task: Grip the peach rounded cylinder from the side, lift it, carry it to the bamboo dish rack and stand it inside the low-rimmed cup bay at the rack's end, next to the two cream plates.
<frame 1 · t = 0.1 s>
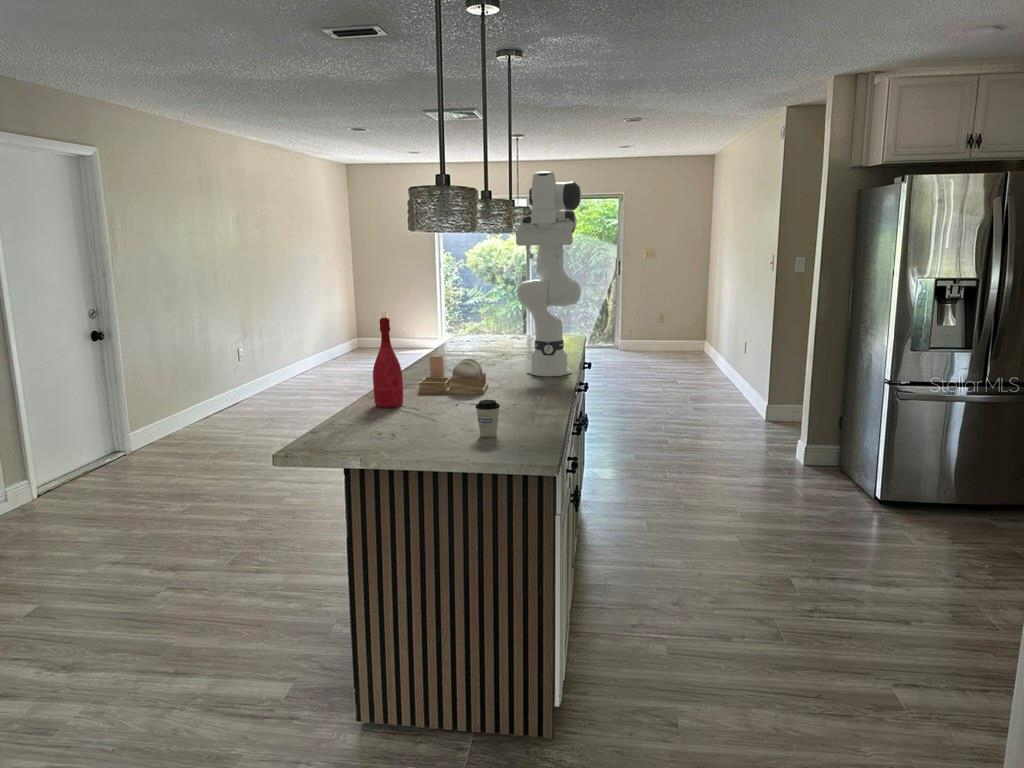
hand: (544, 258, 246), 48 cm above the countertop, tool pointing down, fingers open, 8 cm apart
coffee cup: (488, 436, 195), on the countertop
peach rounded cylinder: (437, 383, 269), on the countertop
rack: (454, 390, 256), on the countertop
wine bottle: (389, 406, 234), on the countertop
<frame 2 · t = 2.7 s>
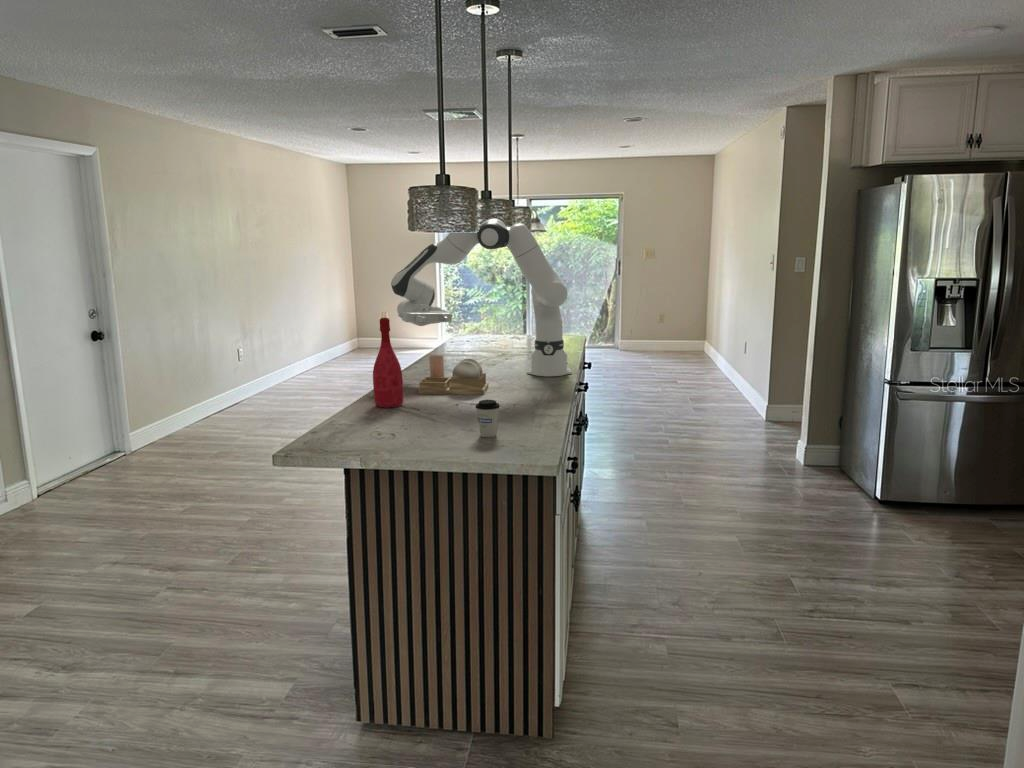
hand: (435, 319, 266), 25 cm above the countertop, tool horizontal, fingers open, 8 cm apart
nothing on the countertop moved.
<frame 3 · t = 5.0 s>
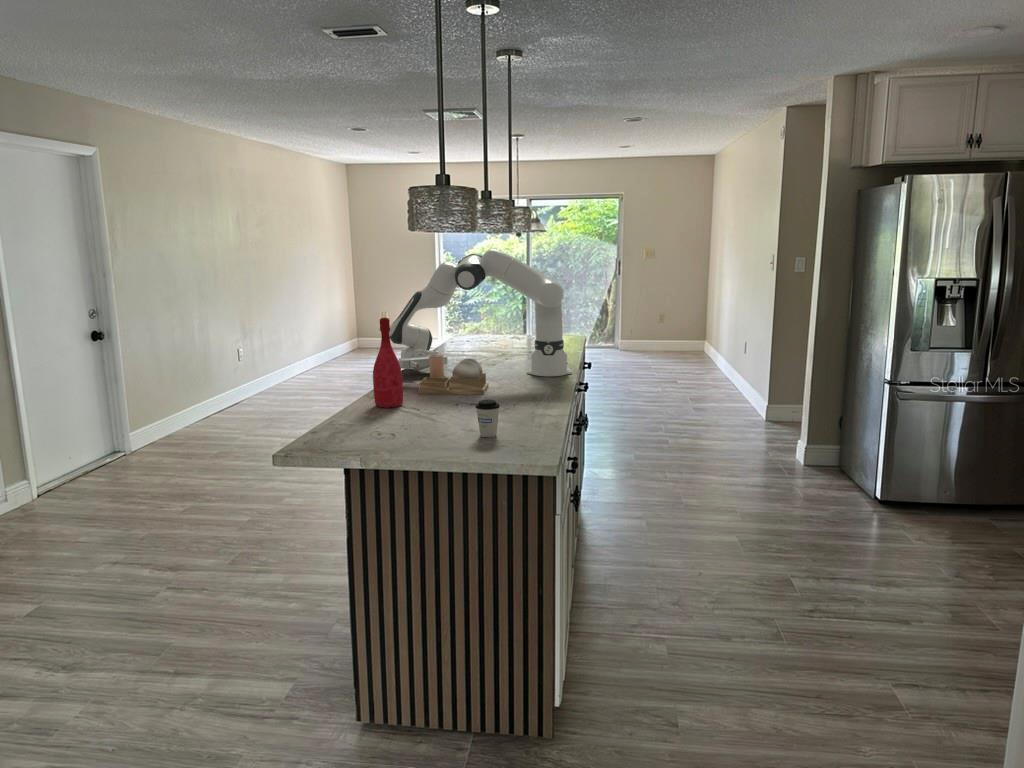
hand: (428, 364, 278), 6 cm above the countertop, tool horizontal, fingers open, 8 cm apart
nothing on the countertop moved.
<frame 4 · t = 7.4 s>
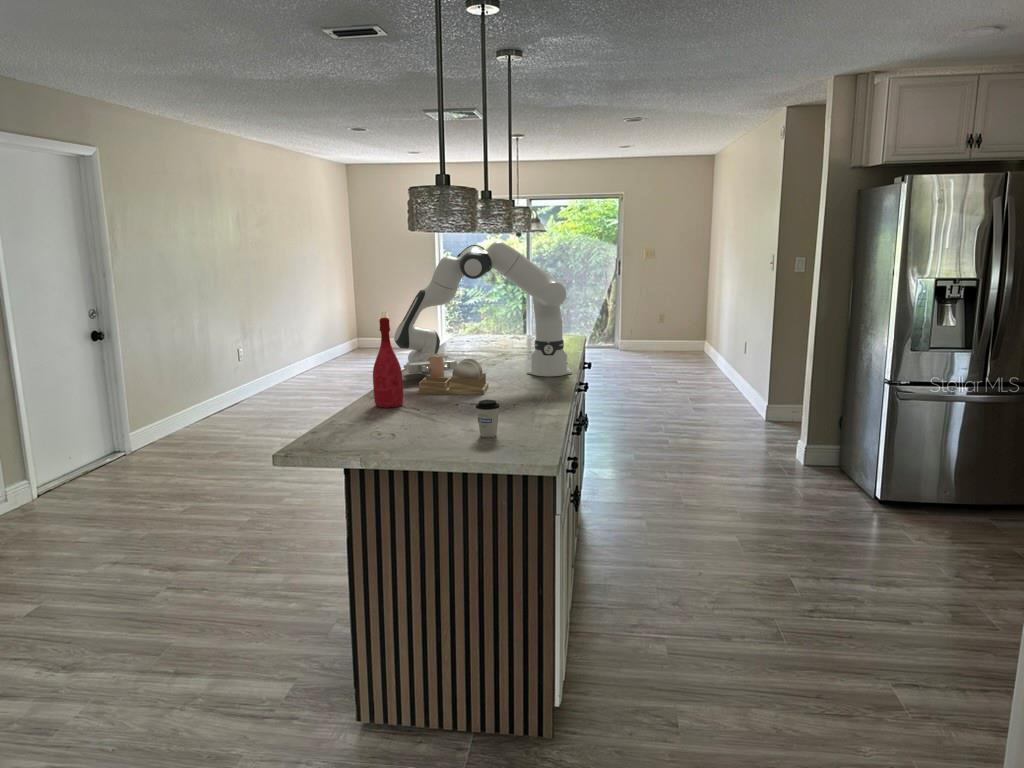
hand: (437, 368, 267), 6 cm above the countertop, tool horizontal, fingers closed on peach rounded cylinder, 5 cm apart
peach rounded cylinder: (437, 383, 269), on the countertop, touching gripper
everything else where it was.
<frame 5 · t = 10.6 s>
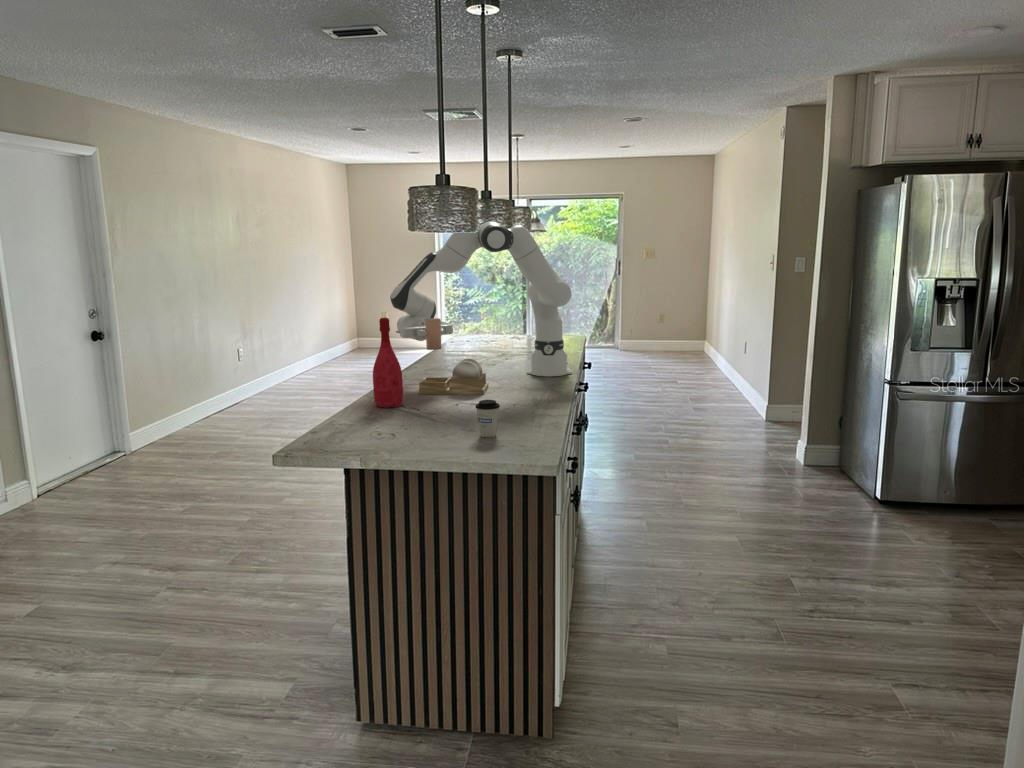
hand: (434, 332, 252), 22 cm above the countertop, tool horizontal, fingers closed on peach rounded cylinder, 5 cm apart
peach rounded cylinder: (434, 348, 254), point 16 cm above the countertop, touching gripper
everything else where it was.
when the fingers open (9 cm above the countertop, at t = 13.3 s): peach rounded cylinder drops 2 cm, resting on rack.
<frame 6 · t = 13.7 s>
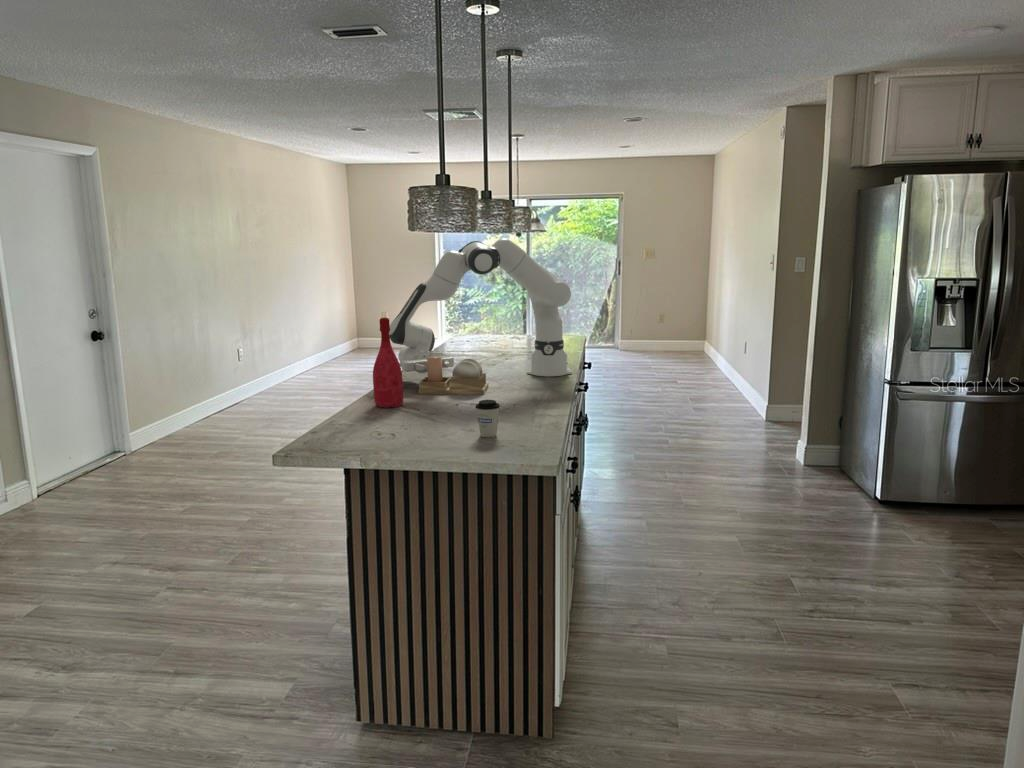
hand: (435, 366, 254), 9 cm above the countertop, tool horizontal, fingers open, 8 cm apart
peach rounded cylinder: (435, 386, 256), point 2 cm above the countertop, touching rack
everything else where it was.
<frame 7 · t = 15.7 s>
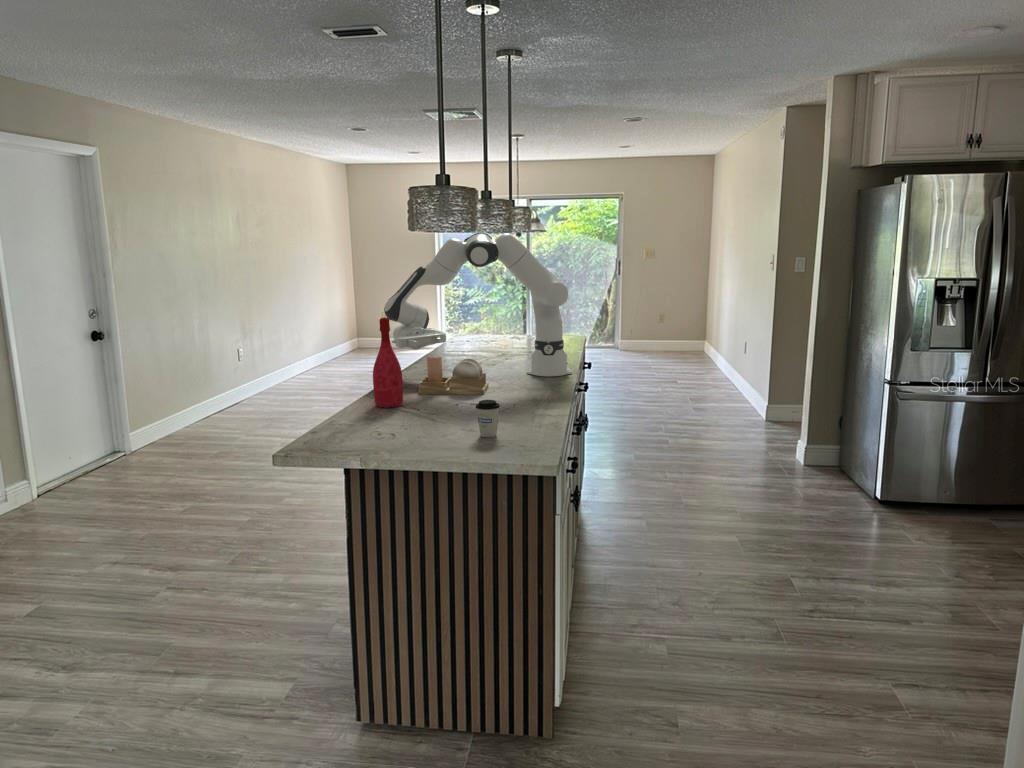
hand: (428, 341, 263), 17 cm above the countertop, tool horizontal, fingers open, 8 cm apart
nothing on the countertop moved.
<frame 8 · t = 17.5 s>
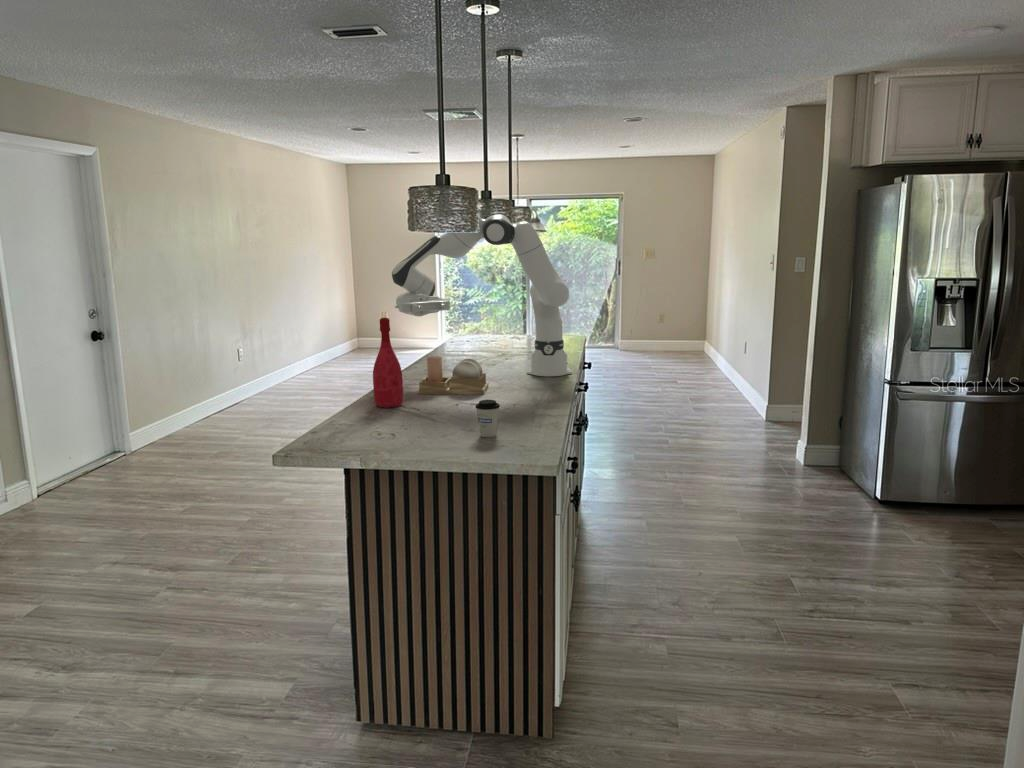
hand: (432, 307, 261), 30 cm above the countertop, tool horizontal, fingers open, 8 cm apart
nothing on the countertop moved.
at the end: peach rounded cylinder inside the target area (0.1 cm from its centre), point 1.5 cm above the countertop; peach rounded cylinder tilted 0°; the gripper is holding nothing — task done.
